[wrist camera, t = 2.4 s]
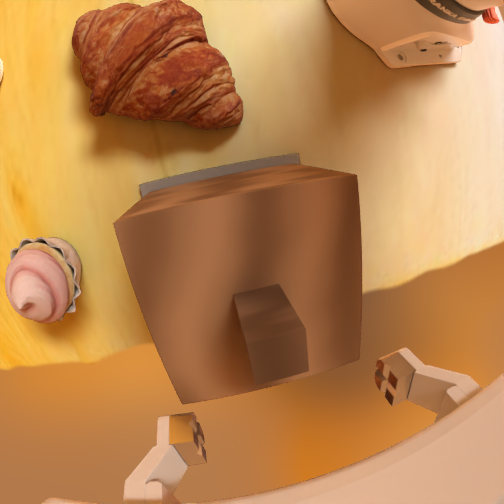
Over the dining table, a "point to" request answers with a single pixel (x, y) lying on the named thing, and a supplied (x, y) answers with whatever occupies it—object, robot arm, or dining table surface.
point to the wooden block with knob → (248, 277)
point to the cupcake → (43, 279)
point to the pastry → (155, 65)
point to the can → (1, 70)
